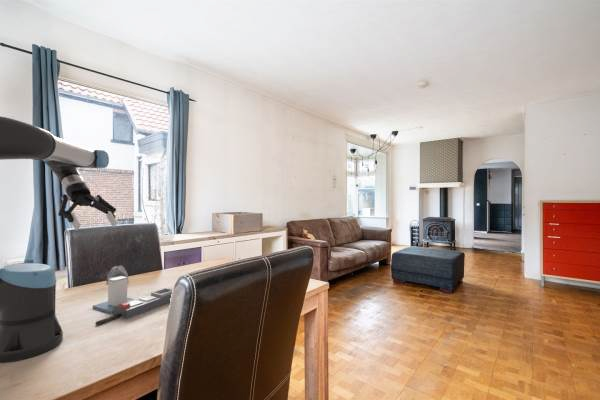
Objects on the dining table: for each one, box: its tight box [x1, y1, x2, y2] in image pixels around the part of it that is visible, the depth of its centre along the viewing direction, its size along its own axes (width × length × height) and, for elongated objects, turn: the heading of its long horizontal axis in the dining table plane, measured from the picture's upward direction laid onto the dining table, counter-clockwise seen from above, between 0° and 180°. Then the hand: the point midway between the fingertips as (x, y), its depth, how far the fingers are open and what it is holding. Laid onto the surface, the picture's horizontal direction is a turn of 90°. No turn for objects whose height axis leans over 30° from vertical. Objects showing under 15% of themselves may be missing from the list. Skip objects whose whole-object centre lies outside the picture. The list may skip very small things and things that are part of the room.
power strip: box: [95, 287, 173, 326], centre depth 111 cm, size 32×8×4 cm, turn 154°
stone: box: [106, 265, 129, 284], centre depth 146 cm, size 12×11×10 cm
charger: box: [107, 276, 128, 306], centre depth 114 cm, size 5×4×10 cm
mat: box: [92, 296, 136, 315], centre depth 114 cm, size 12×12×1 cm
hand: (97, 226), depth 113 cm, fingers open, 13 cm apart
